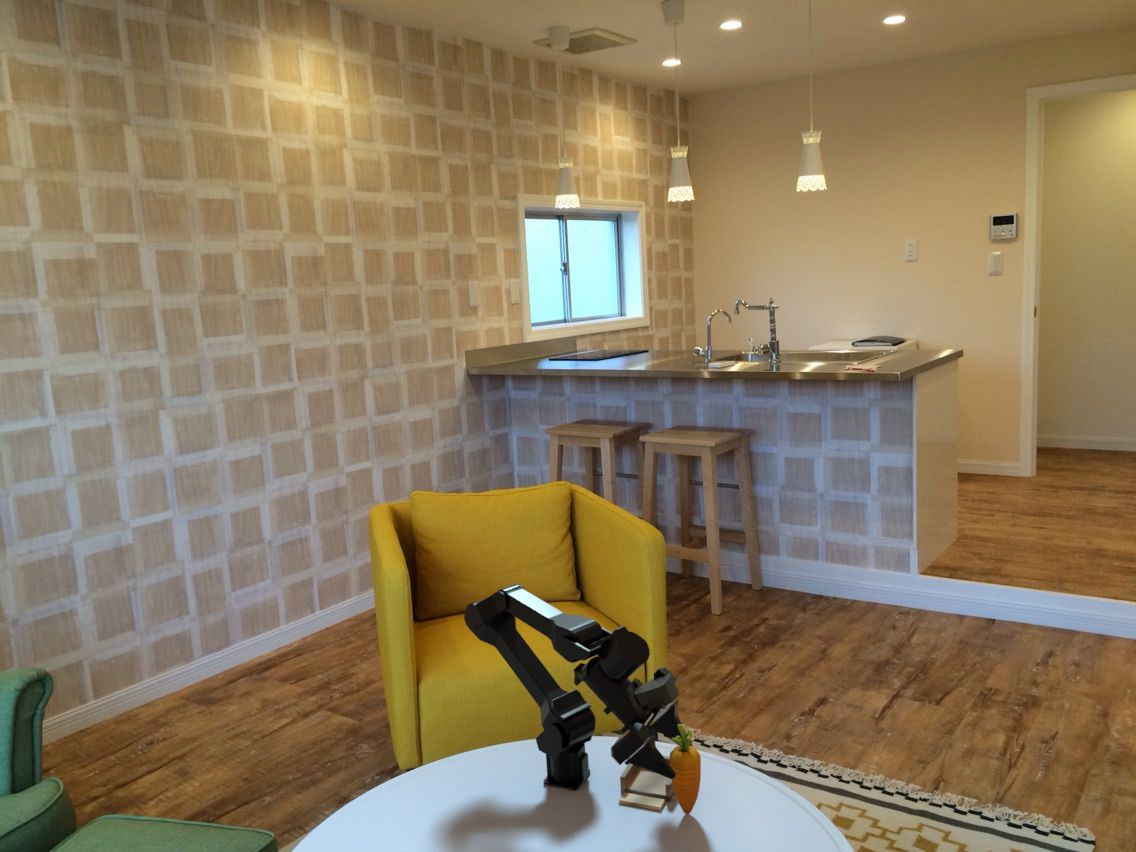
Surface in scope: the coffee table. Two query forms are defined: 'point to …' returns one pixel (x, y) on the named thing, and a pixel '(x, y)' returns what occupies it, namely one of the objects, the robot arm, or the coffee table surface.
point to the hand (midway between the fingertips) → (682, 762)
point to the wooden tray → (645, 787)
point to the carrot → (685, 770)
